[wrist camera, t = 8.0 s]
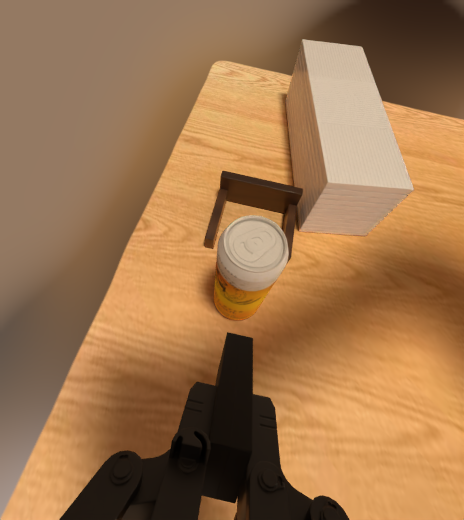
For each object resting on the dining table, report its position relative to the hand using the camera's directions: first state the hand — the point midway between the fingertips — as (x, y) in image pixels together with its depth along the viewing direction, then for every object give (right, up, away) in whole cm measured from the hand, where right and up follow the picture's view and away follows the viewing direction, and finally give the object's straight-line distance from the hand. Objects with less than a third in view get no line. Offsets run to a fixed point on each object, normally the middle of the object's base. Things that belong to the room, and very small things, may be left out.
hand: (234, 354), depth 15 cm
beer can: (0, 0, +19) cm, 19 cm away
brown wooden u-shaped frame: (+3, +10, +24) cm, 26 cm away
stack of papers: (+16, +24, +33) cm, 43 cm away
